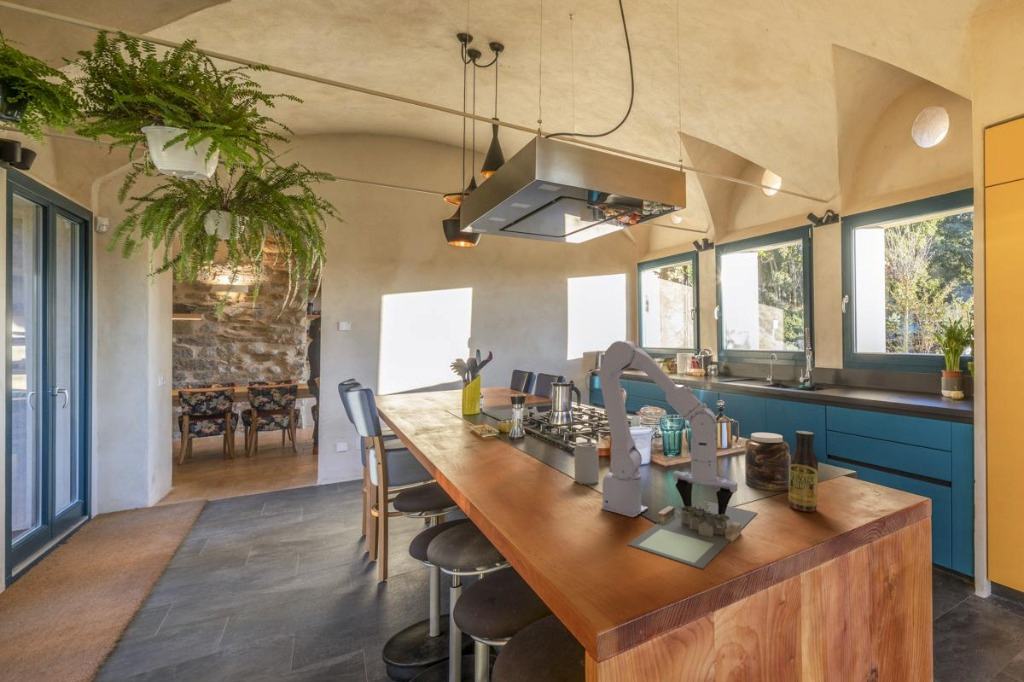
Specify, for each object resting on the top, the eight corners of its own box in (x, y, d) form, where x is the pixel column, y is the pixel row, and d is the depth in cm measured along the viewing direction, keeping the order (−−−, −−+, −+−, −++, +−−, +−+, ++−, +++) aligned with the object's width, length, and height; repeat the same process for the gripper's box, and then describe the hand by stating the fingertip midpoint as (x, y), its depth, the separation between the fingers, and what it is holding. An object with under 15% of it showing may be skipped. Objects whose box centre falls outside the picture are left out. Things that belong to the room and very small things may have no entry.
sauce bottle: (786, 509, 118) (785, 432, 118) (791, 502, 122) (790, 428, 122) (816, 515, 113) (815, 435, 113) (820, 508, 118) (819, 431, 118)
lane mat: (627, 544, 99) (627, 543, 99) (693, 499, 126) (693, 498, 126) (702, 569, 88) (702, 568, 88) (757, 513, 115) (757, 512, 115)
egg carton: (732, 535, 102) (732, 517, 102) (701, 538, 101) (701, 520, 101) (704, 517, 113) (704, 500, 113) (676, 519, 111) (676, 503, 111)
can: (601, 485, 139) (600, 446, 139) (576, 485, 139) (575, 446, 139) (596, 478, 146) (596, 440, 146) (573, 478, 146) (572, 441, 146)
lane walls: (658, 521, 111) (658, 512, 111) (668, 514, 115) (668, 505, 115) (732, 542, 99) (732, 532, 99) (741, 533, 104) (740, 523, 104)
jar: (748, 476, 145) (748, 429, 145) (791, 483, 138) (791, 433, 138) (742, 486, 136) (741, 436, 135) (788, 494, 129) (787, 441, 129)
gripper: (741, 460, 108) (741, 517, 108) (680, 451, 118) (681, 503, 118) (731, 467, 103) (732, 527, 103) (669, 456, 113) (670, 511, 113)
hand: (704, 515), depth 110 cm, fingers open, 7 cm apart
